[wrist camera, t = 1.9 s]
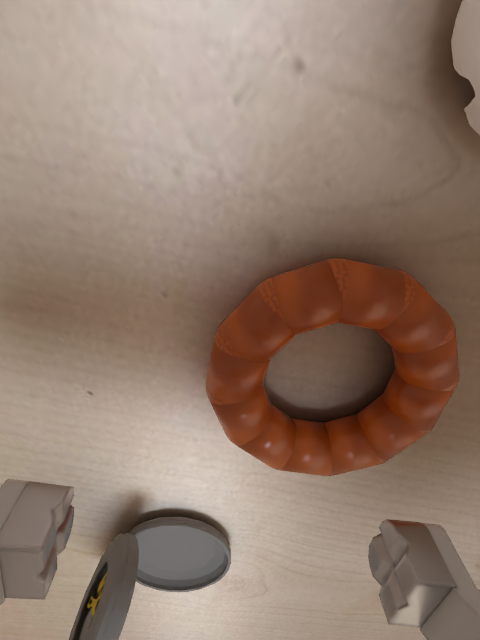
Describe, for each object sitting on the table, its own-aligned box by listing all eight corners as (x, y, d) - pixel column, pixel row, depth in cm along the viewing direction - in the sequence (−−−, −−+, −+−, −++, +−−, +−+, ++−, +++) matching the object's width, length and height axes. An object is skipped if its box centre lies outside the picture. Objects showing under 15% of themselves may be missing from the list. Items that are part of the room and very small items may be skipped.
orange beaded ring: (482, 278, 16) (522, 303, 13) (388, 458, 20) (406, 497, 18) (233, 230, 14) (233, 249, 12) (194, 432, 19) (190, 470, 17)
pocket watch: (234, 572, 25) (235, 823, 16) (106, 579, 25) (36, 831, 16) (225, 487, 21) (220, 755, 12) (74, 495, 21) (-40, 766, 12)
